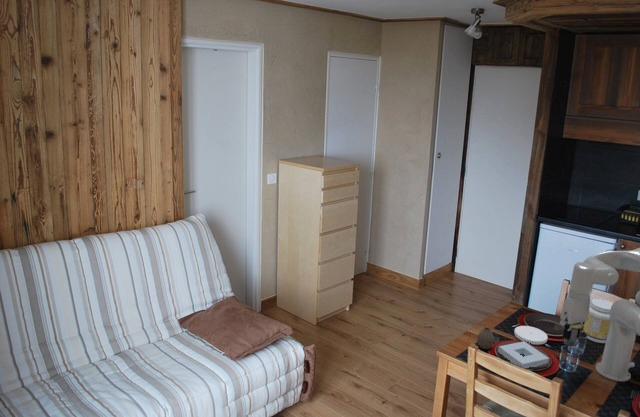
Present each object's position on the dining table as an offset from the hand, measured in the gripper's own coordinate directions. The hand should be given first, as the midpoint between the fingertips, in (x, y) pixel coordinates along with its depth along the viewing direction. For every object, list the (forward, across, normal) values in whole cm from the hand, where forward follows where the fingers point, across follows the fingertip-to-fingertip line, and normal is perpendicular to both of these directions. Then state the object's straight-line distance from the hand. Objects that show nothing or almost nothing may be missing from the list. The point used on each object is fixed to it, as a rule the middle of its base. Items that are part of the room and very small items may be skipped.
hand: (570, 337), depth 210 cm
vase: (+17, +16, -28) cm, 37 cm away
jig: (+17, +8, -14) cm, 24 cm away
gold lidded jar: (+3, 0, 0) cm, 3 cm away
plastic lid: (+18, -10, -28) cm, 35 cm away
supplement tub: (+17, -41, -19) cm, 48 cm away
